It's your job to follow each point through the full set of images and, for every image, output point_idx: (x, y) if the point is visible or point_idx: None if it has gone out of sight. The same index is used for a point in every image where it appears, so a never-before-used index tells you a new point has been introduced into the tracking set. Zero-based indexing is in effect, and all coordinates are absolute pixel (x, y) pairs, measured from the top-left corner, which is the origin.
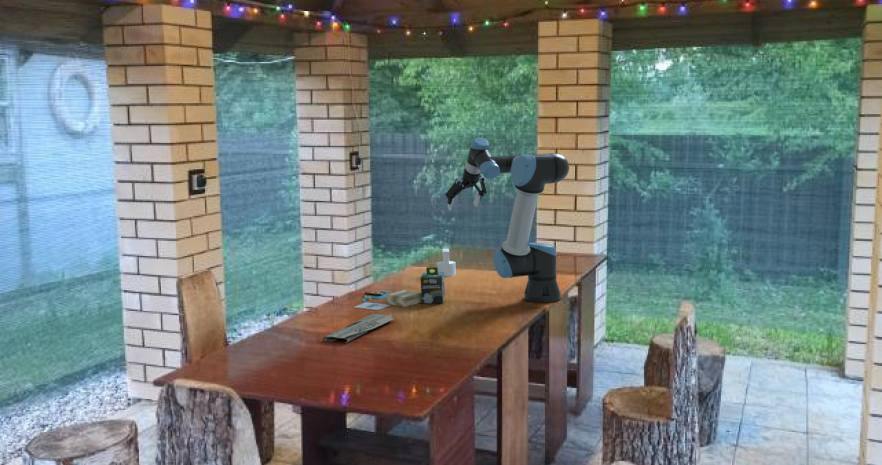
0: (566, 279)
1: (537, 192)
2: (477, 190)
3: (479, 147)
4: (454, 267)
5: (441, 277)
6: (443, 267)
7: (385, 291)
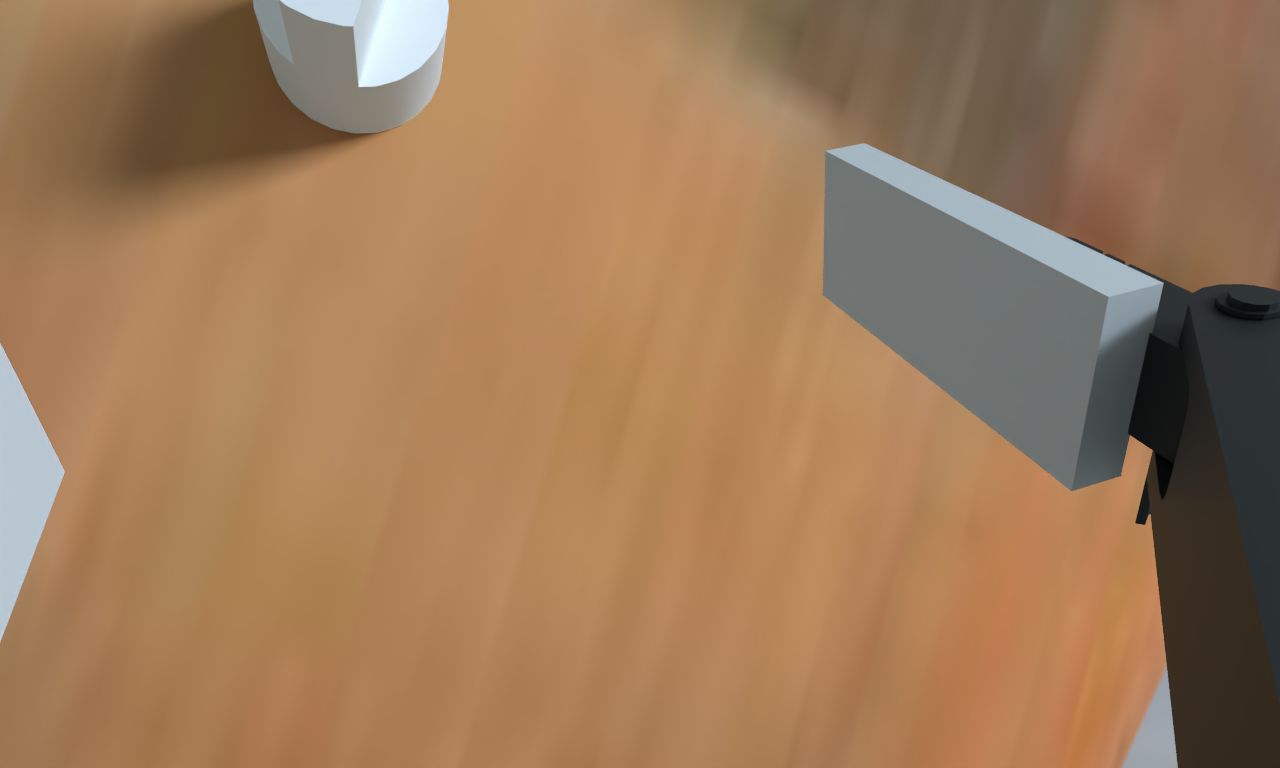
0: (1145, 607)
1: None
2: (1175, 735)
3: None
4: (421, 82)
5: None
6: (301, 82)
7: None
